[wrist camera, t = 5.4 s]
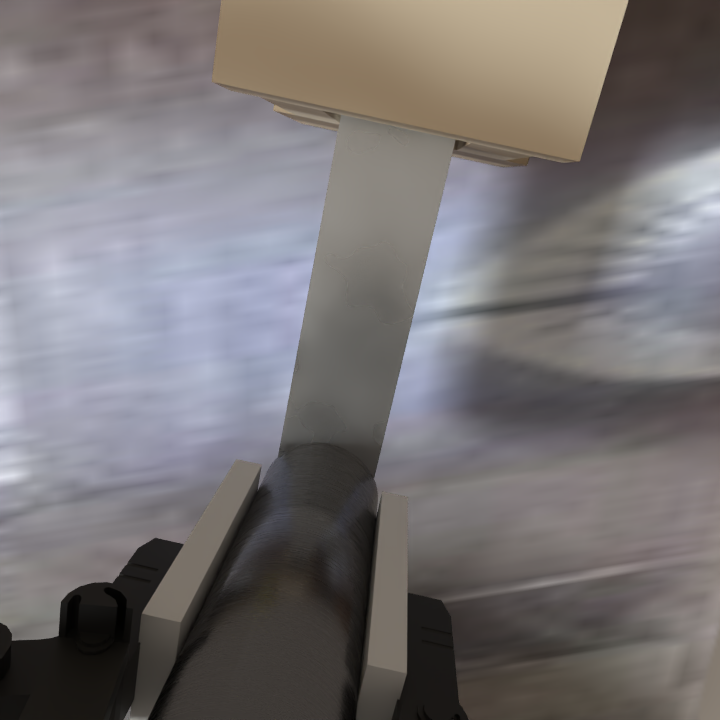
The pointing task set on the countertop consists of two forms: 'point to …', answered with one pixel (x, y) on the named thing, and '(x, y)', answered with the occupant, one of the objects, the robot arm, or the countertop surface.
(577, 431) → the countertop surface
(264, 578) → the grey l-shaped piece
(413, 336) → the countertop surface
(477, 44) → the block
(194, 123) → the countertop surface
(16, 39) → the countertop surface
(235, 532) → the robot arm
